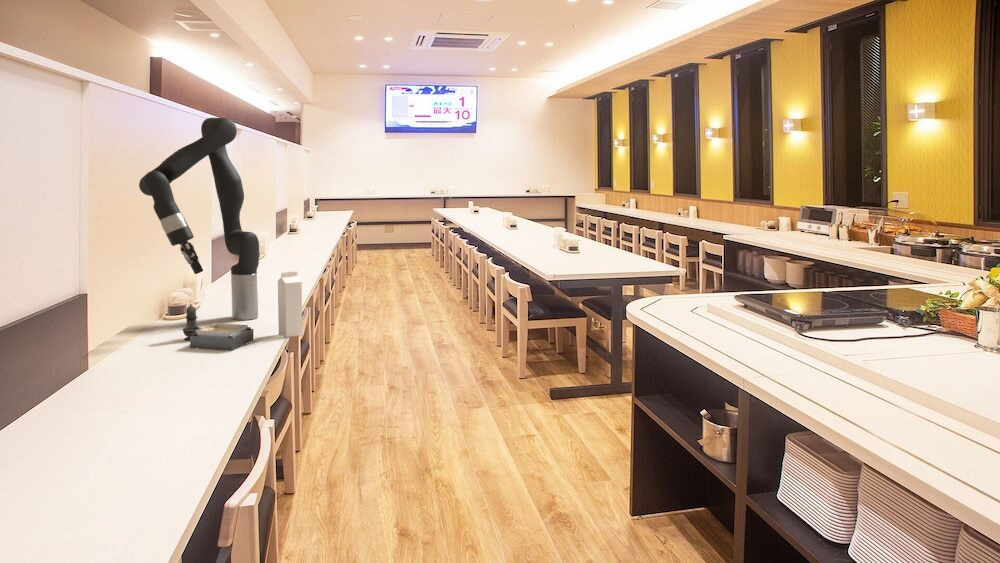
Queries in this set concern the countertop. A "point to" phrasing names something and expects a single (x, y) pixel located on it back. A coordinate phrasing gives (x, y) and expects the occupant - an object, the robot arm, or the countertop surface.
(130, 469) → the countertop surface
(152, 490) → the countertop surface
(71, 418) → the countertop surface
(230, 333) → the grey square box
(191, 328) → the grey stone figure
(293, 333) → the milk
